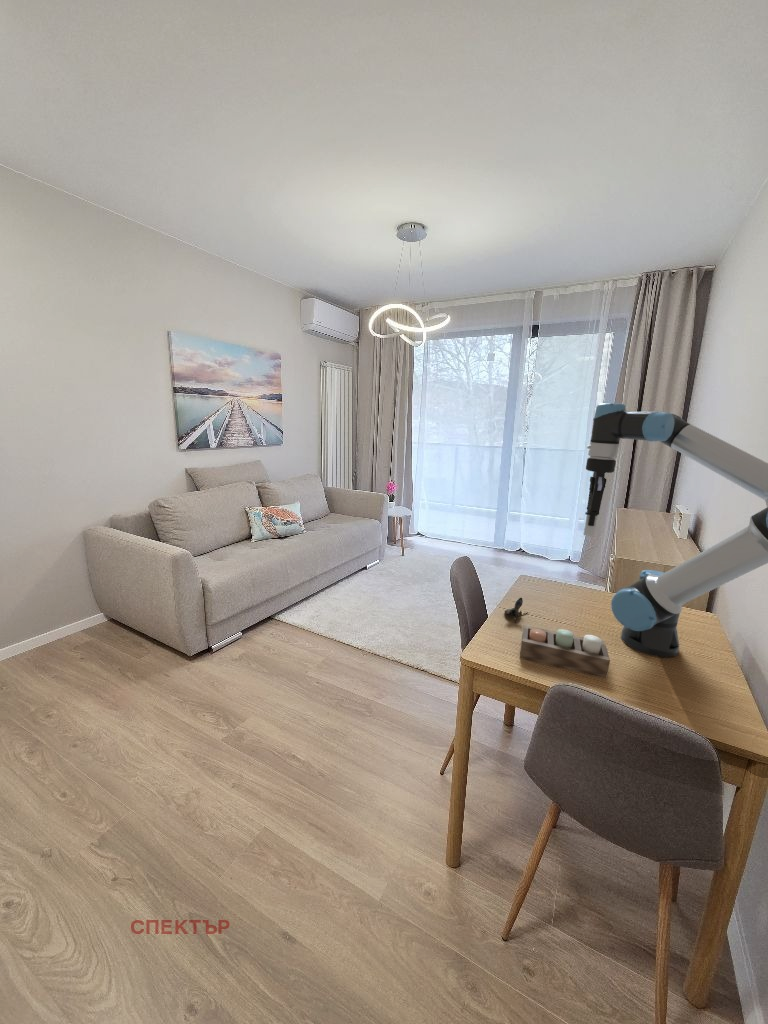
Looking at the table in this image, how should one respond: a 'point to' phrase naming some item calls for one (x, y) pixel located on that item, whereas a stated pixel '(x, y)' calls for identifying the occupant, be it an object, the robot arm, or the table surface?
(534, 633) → the pink rounded block
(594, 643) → the white rounded block
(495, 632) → the table surface
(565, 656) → the wooden egg holder
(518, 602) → the eagle figurine
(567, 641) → the sage button
